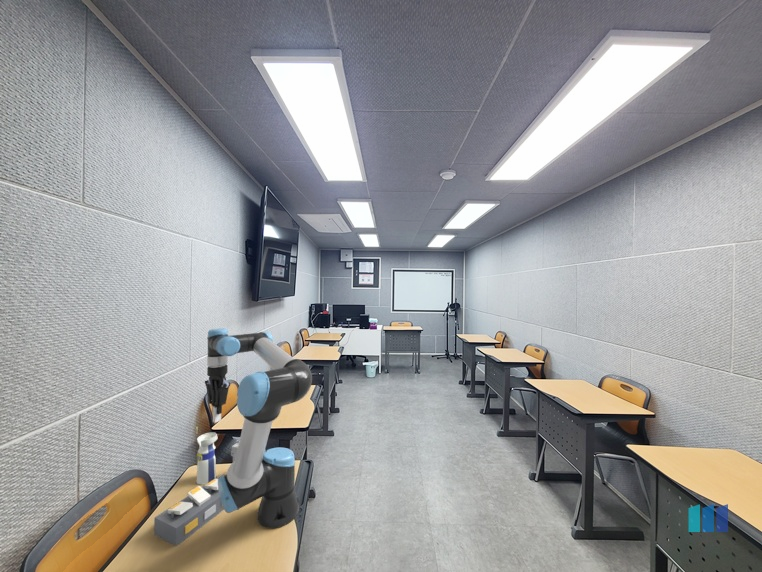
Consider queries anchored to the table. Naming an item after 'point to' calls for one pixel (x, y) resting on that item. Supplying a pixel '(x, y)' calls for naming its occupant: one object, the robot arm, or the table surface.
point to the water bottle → (206, 458)
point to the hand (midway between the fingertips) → (217, 421)
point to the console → (187, 519)
